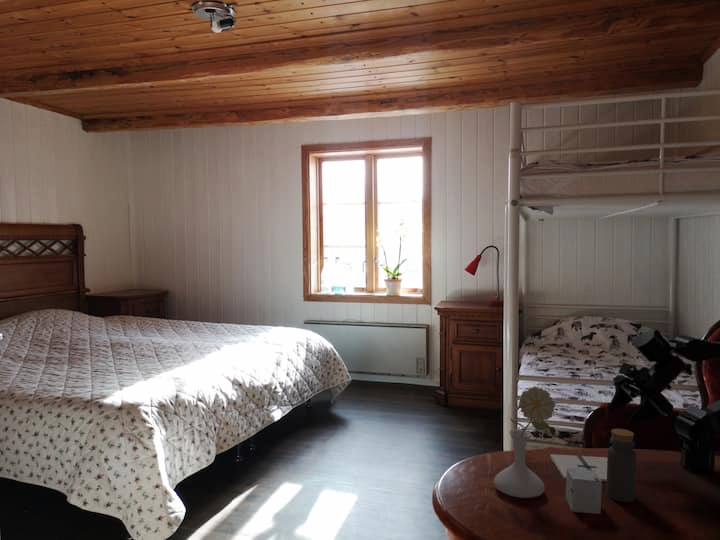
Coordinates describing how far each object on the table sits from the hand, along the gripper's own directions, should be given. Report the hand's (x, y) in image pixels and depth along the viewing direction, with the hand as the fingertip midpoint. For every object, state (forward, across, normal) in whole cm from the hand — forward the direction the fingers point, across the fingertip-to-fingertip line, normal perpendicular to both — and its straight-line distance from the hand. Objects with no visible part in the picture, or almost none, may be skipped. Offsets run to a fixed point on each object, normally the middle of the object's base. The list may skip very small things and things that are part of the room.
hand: (618, 416), depth 135 cm
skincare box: (+22, +19, -3) cm, 30 cm away
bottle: (+15, +15, +5) cm, 21 cm away
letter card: (+15, 0, +4) cm, 16 cm away
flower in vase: (+30, +12, -11) cm, 34 cm away
